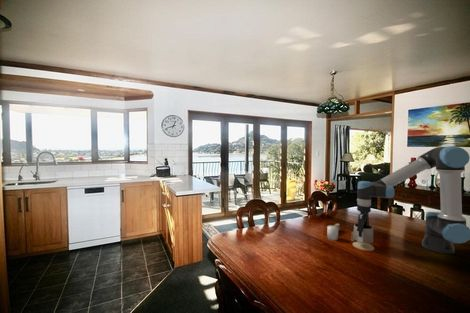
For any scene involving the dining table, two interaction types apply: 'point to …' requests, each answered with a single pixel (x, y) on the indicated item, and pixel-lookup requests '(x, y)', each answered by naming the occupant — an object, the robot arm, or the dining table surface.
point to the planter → (364, 233)
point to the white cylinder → (332, 233)
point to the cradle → (351, 233)
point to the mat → (363, 246)
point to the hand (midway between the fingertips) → (363, 238)
